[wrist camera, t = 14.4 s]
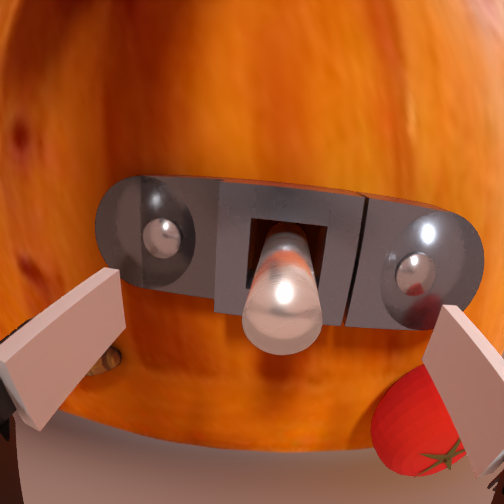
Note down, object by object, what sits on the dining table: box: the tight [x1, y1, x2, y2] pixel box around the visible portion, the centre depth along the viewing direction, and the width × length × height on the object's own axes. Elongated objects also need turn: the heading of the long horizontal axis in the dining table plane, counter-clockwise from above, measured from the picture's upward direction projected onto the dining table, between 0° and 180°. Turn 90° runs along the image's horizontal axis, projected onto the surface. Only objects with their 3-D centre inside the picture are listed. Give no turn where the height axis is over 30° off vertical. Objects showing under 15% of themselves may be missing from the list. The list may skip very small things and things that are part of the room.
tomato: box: [371, 364, 467, 477], centre depth 21 cm, size 12×12×10 cm
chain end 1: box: [95, 174, 357, 299], centre depth 22 cm, size 20×9×3 cm, turn 86°
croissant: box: [84, 345, 121, 377], centre depth 27 cm, size 14×7×5 cm, turn 93°
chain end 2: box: [214, 180, 484, 330], centre depth 20 cm, size 20×9×5 cm, turn 86°
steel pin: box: [242, 222, 323, 355], centre depth 17 cm, size 3×3×12 cm
